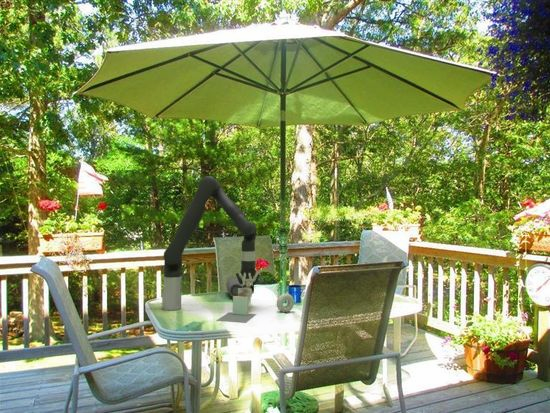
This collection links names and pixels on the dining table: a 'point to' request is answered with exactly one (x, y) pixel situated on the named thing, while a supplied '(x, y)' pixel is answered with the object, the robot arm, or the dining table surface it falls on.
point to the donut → (281, 300)
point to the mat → (236, 318)
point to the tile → (240, 305)
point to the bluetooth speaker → (233, 286)
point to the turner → (245, 291)
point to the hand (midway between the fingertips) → (248, 292)
